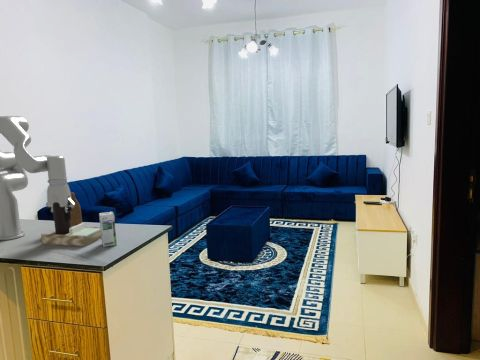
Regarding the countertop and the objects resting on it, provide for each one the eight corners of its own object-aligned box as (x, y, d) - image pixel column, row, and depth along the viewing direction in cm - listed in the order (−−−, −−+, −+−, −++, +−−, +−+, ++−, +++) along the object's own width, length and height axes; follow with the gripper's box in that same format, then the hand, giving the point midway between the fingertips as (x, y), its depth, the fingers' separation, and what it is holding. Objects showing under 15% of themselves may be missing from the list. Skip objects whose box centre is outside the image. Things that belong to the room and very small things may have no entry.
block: (64, 234, 186) (60, 195, 183) (57, 232, 191) (52, 193, 188) (84, 229, 194) (80, 191, 191) (77, 227, 199) (73, 190, 196)
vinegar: (56, 236, 171) (51, 193, 168) (55, 232, 177) (50, 191, 174) (72, 233, 174) (67, 192, 171) (70, 230, 180) (66, 190, 177)
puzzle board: (41, 244, 170) (40, 234, 170) (64, 234, 185) (63, 225, 184) (83, 246, 165) (82, 236, 165) (103, 236, 180) (102, 227, 179)
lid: (65, 236, 169) (64, 229, 168) (81, 229, 180) (81, 222, 179) (86, 237, 166) (85, 229, 166) (102, 230, 177) (101, 223, 177)
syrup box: (103, 247, 163) (100, 215, 161) (101, 243, 168) (98, 212, 166) (116, 245, 166) (114, 213, 164) (114, 241, 171) (112, 210, 169)
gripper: (36, 183, 171) (40, 221, 173) (68, 183, 166) (72, 222, 169) (48, 181, 178) (52, 217, 180) (79, 181, 174) (83, 218, 176)
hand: (62, 219), depth 175 cm, fingers closed on vinegar, 5 cm apart
